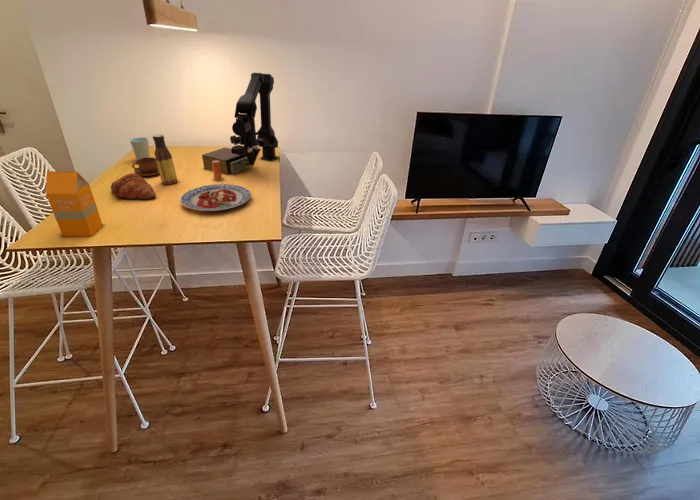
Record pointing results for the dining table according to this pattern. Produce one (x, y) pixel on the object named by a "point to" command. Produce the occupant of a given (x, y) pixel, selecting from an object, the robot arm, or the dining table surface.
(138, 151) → the cup
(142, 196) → the pastry
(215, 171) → the spice jar
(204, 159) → the cabinet
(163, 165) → the sauce bottle
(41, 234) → the dining table surface
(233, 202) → the ceramic plate
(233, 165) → the drawer
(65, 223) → the orange juice
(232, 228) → the dining table surface
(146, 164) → the cup and saucer
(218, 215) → the dining table surface
